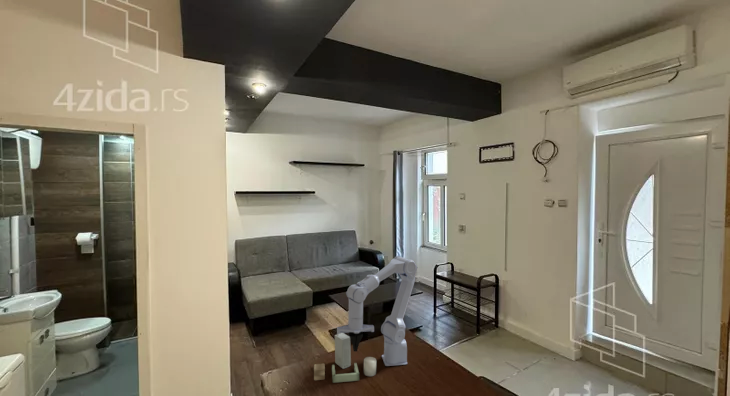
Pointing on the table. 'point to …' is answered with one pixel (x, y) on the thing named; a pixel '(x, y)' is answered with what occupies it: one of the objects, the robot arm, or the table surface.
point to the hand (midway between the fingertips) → (355, 350)
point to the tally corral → (345, 375)
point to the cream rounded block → (369, 366)
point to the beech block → (319, 371)
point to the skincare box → (342, 350)
